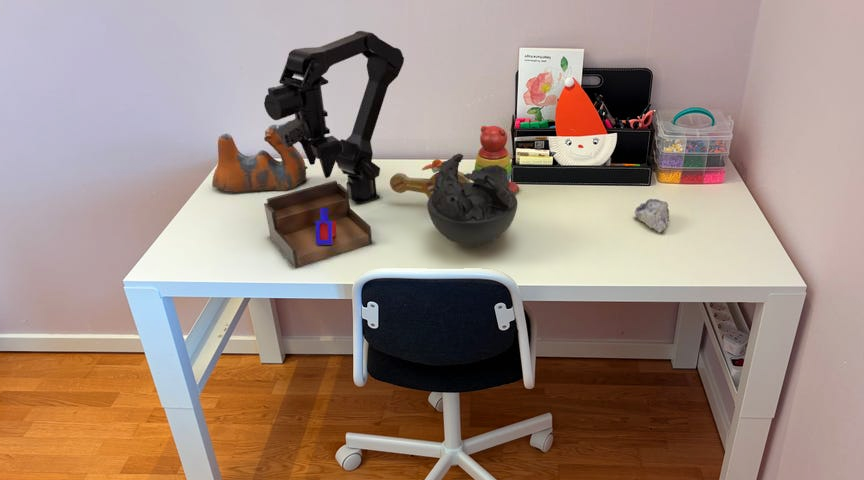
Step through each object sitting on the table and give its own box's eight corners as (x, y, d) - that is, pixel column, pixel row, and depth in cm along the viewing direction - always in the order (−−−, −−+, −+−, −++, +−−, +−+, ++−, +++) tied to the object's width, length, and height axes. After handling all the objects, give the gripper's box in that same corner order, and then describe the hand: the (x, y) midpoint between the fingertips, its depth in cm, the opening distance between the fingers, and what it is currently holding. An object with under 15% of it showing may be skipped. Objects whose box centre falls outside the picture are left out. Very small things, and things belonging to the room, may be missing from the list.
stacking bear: (521, 189, 189) (523, 123, 179) (502, 204, 182) (502, 137, 172) (486, 180, 194) (485, 116, 184) (465, 195, 187) (463, 129, 177)
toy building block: (336, 243, 165) (335, 208, 165) (332, 244, 161) (331, 208, 160) (320, 243, 165) (320, 208, 165) (316, 244, 161) (315, 208, 161)
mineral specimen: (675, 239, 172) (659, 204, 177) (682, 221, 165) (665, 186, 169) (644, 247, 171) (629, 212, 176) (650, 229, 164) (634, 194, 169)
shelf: (343, 216, 178) (338, 179, 173) (372, 243, 167) (368, 204, 161) (270, 238, 170) (263, 199, 165) (295, 268, 159) (288, 227, 153)
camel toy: (207, 193, 191) (193, 131, 182) (228, 172, 202) (215, 112, 193) (299, 198, 188) (288, 134, 179) (315, 176, 199) (306, 115, 190)
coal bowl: (520, 262, 158) (521, 183, 148) (428, 264, 158) (423, 186, 148) (513, 218, 175) (514, 145, 165) (430, 221, 175) (426, 147, 165)
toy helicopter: (466, 220, 175) (464, 167, 168) (386, 210, 181) (381, 159, 173) (475, 205, 182) (474, 154, 174) (398, 196, 187) (394, 146, 180)
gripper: (262, 103, 168) (273, 165, 176) (291, 127, 154) (302, 193, 162) (308, 93, 173) (316, 155, 181) (340, 116, 159) (348, 181, 167)
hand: (319, 170), depth 173 cm, fingers open, 9 cm apart
